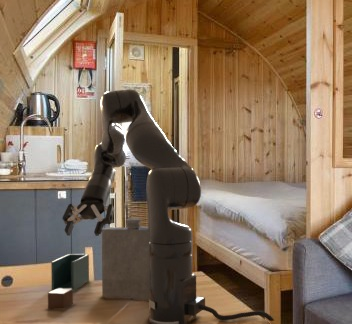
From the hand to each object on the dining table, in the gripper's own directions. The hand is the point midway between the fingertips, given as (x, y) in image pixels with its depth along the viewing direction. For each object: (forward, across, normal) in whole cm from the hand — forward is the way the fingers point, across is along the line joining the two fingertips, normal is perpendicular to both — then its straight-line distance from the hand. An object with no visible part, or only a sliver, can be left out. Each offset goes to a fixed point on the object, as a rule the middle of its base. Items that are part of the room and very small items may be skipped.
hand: (81, 234), depth 134 cm
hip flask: (+21, +20, -2) cm, 30 cm away
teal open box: (+15, 0, +4) cm, 15 cm away
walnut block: (+24, +6, -8) cm, 26 cm away
